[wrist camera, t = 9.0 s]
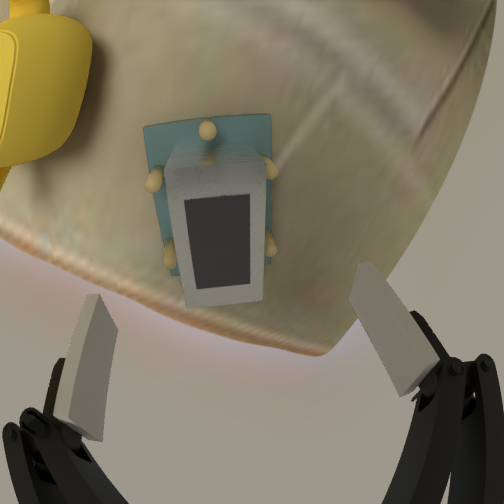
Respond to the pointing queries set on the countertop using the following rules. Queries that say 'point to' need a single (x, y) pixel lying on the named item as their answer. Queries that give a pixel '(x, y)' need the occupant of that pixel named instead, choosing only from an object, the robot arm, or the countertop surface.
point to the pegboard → (204, 132)
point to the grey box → (218, 221)
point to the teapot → (39, 81)
